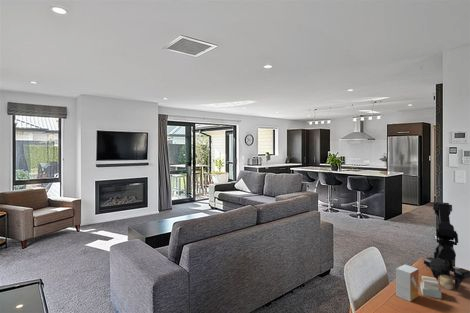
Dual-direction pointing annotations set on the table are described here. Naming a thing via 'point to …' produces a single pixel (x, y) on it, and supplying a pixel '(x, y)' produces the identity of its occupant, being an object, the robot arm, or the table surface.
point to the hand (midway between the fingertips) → (446, 284)
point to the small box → (407, 282)
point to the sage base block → (430, 292)
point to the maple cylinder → (446, 282)
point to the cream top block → (430, 283)
